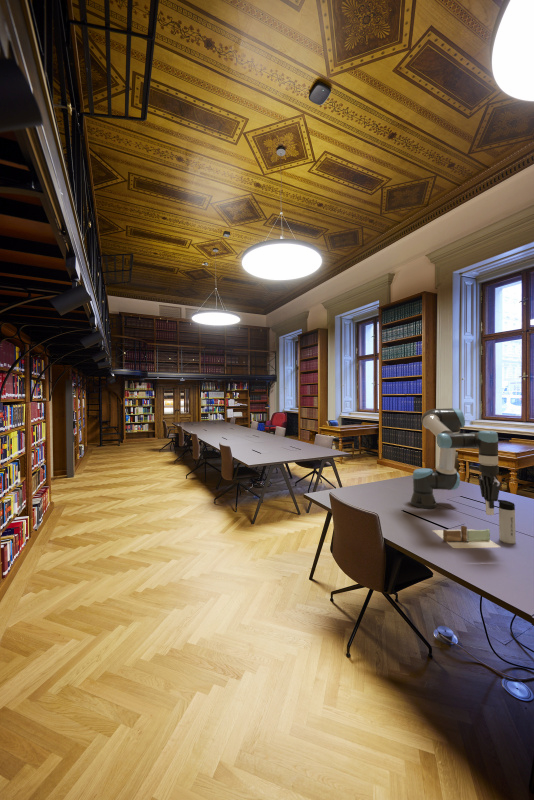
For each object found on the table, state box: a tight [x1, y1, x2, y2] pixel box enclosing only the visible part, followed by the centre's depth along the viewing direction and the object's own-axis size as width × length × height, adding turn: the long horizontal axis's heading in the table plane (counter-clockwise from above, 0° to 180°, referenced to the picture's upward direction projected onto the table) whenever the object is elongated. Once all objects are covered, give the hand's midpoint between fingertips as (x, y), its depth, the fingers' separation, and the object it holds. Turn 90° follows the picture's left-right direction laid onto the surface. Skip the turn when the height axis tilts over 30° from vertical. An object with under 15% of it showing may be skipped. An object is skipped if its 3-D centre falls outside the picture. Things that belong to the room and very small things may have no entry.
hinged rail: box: [467, 528, 491, 541], centre depth 155 cm, size 10×2×5 cm, turn 89°
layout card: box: [431, 528, 501, 549], centre depth 158 cm, size 20×22×1 cm
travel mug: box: [497, 499, 517, 545], centre depth 154 cm, size 6×7×20 cm
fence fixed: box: [442, 525, 468, 542], centre depth 155 cm, size 2×11×7 cm, turn 89°
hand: (489, 514), depth 149 cm, fingers closed
